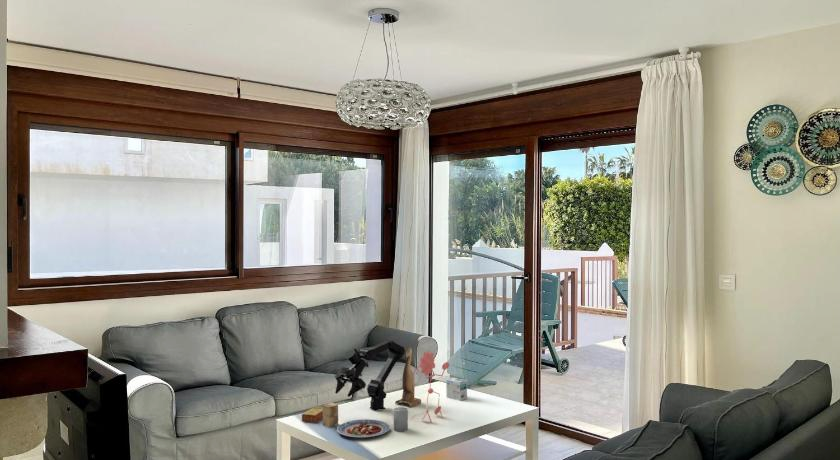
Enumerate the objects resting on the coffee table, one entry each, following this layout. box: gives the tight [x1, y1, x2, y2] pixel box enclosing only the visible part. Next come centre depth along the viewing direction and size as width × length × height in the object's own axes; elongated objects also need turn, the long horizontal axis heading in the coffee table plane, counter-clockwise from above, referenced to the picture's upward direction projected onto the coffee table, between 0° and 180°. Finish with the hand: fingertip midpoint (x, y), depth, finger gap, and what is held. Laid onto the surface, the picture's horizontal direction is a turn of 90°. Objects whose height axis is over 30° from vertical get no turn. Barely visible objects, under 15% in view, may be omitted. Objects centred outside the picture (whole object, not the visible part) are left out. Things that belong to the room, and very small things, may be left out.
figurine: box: [411, 350, 450, 424], centre depth 331 cm, size 15×26×35 cm, turn 139°
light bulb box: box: [445, 377, 468, 401], centre depth 367 cm, size 11×7×11 cm, turn 49°
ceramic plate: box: [336, 418, 391, 438], centre depth 310 cm, size 26×26×3 cm
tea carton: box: [322, 402, 339, 428], centre depth 321 cm, size 6×5×10 cm
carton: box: [301, 405, 323, 424], centre depth 333 cm, size 8×16×4 cm, turn 162°
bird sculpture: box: [394, 347, 422, 408], centre depth 356 cm, size 11×12×32 cm
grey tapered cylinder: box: [393, 406, 409, 433], centre depth 313 cm, size 7×7×10 cm
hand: (341, 394), depth 327 cm, fingers open, 9 cm apart
